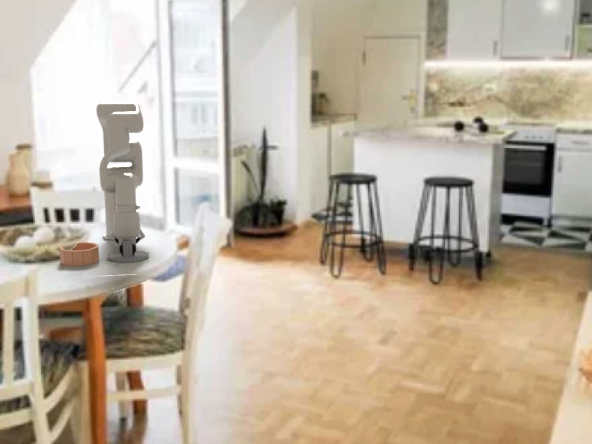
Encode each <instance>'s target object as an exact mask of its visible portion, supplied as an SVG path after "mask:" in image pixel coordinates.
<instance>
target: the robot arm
mask: <svg viewBox="0 0 592 444" xmlns="http://www.w3.org/2000/svg"><path fill="white" fill-rule="evenodd" d="M95 111H96V115H97V116H96V117H97V118H98V122H99V124H100V125H101V130H102V138H103V139H102V140H103V154H104V155H103V157H102V159H101V160H100V163H99V169H98V170H99V171H98V172H99V183H100V188H101V190H102V192H103V195H104V196H103V197H104V213H105V215H104V216H105V233H103V234H102V238H103V239H104V240H110V241H114V242H115V243H116V244H117V245H118V244H119V248H120V249H119V248H118V249H119V251H120V253H121V254H122V256H123V243H122V238H132V240H133V244H132V255H134V252H136V250H137V244H138V243H139V242H140V241H141V240H143V239H145V237H146V234H145V233H144V231H143V230H142V229H141V228H142V227H141V219H140V213H139V211H138V210H139V209H141V205H140V204H139V205H138V204H137V199H136V198H137V197H136V191H137V190H136V189H137V188H138V187H141V185H142V184H143V182H144V180H143V179H144V177H143V176H144V171H143V166H144V164H143V163H144V162H143V148H142V145H141V142H140V141H138V140H134V139H133V140H132V139H130V137H131V136H130V134H136V133H142V132H143V130H144V117H143V114H142V113H143V112H142V110H141V108H140V105H139V104H138V103H137V102H134V101H105V102H101V103H98V104H97V105H96V110H95ZM110 163H111V164H112V163H113V164H118V163H119V164H121V163H122V164H123V163H130V164H127V165H125V164H124V165H109V164H110ZM118 238H119V239H118Z"/></svg>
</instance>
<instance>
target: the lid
mask: <svg viewBox="0 0 592 444" xmlns="http://www.w3.org/2000/svg"><path fill="white" fill-rule="evenodd" d="M147 252H148V251H144V250H139V249H136V252H134V255H132V239H123V256H122V254H121V253H120V250H118V251H113V252H109V253H110V254H107V255H106V261H107V260H109V261H111V262H116V263H118V264H134V263H133V262H140V261H144V260H146V259H148V258H149V259H150V252H149V253H147Z"/></svg>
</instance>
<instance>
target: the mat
mask: <svg viewBox="0 0 592 444" xmlns="http://www.w3.org/2000/svg"><path fill="white" fill-rule="evenodd" d="M146 252H147V253H149V254H150V251H146ZM110 253H111V252H109V253H108V254H110ZM108 254H107V255H108ZM149 262H150V257H149V258H148V259H146V260H144V261H140V262H133V263H132V264H135V263H136V264H138V263H139V264H142V263H144V264H145V263H149ZM110 264H111V265H112V264H115V265H116V264H119V263H116V262H111V261H109V260H107V259H106V262H105V265H110Z"/></svg>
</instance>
